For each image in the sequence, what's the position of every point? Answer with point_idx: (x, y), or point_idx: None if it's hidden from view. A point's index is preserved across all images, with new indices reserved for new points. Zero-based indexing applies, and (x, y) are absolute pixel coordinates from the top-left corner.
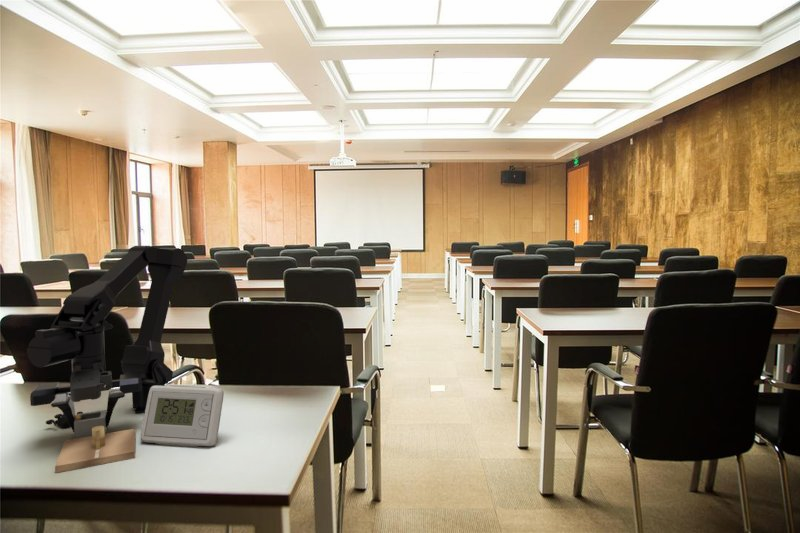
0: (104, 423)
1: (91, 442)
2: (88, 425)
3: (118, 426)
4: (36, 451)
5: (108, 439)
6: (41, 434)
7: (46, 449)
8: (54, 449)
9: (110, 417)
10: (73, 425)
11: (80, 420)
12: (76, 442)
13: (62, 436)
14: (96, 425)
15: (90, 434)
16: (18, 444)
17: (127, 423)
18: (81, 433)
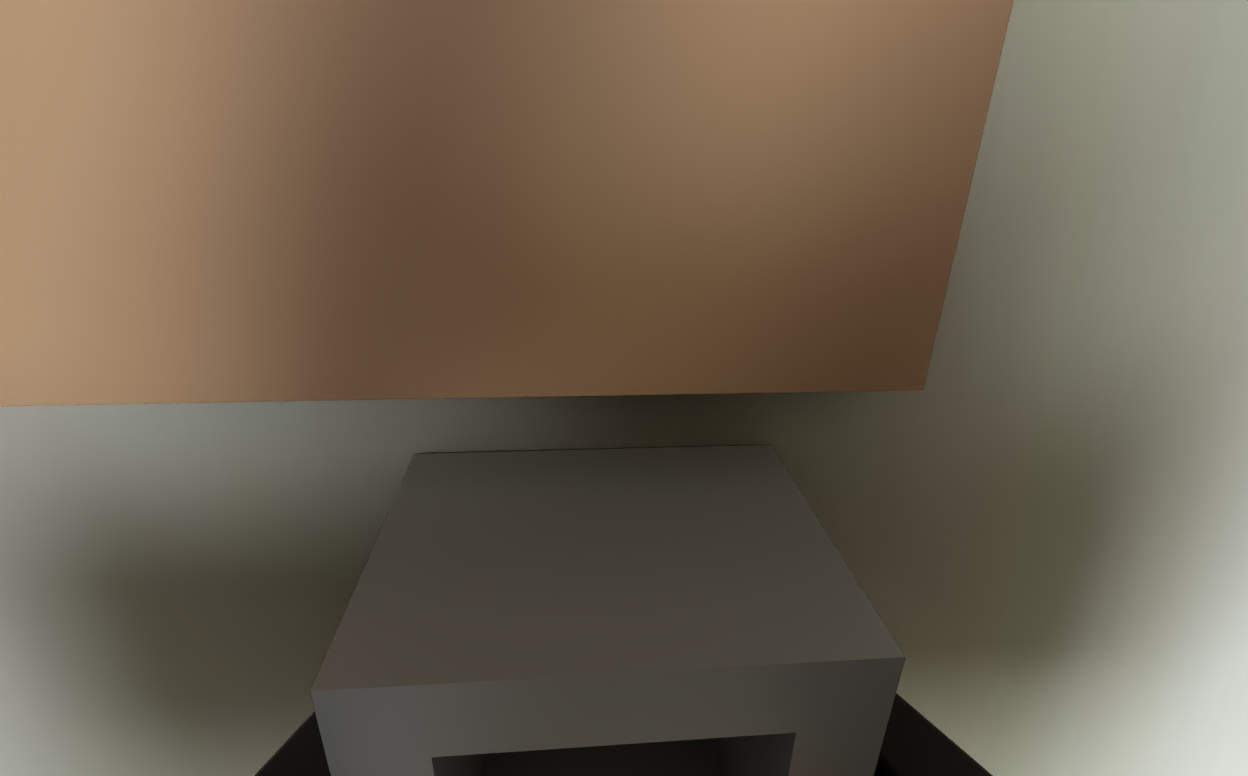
0: (361, 594)
1: (539, 51)
2: (632, 590)
3: None
4: (1165, 354)
5: (227, 36)
6: (1031, 767)
7: (1068, 364)
8: (995, 317)
9: (272, 760)
10: None
11: (788, 713)
12: (782, 204)
13: None
14: (501, 574)
15: (596, 486)
16: (1238, 623)
17: (234, 761)
18: (718, 507)
